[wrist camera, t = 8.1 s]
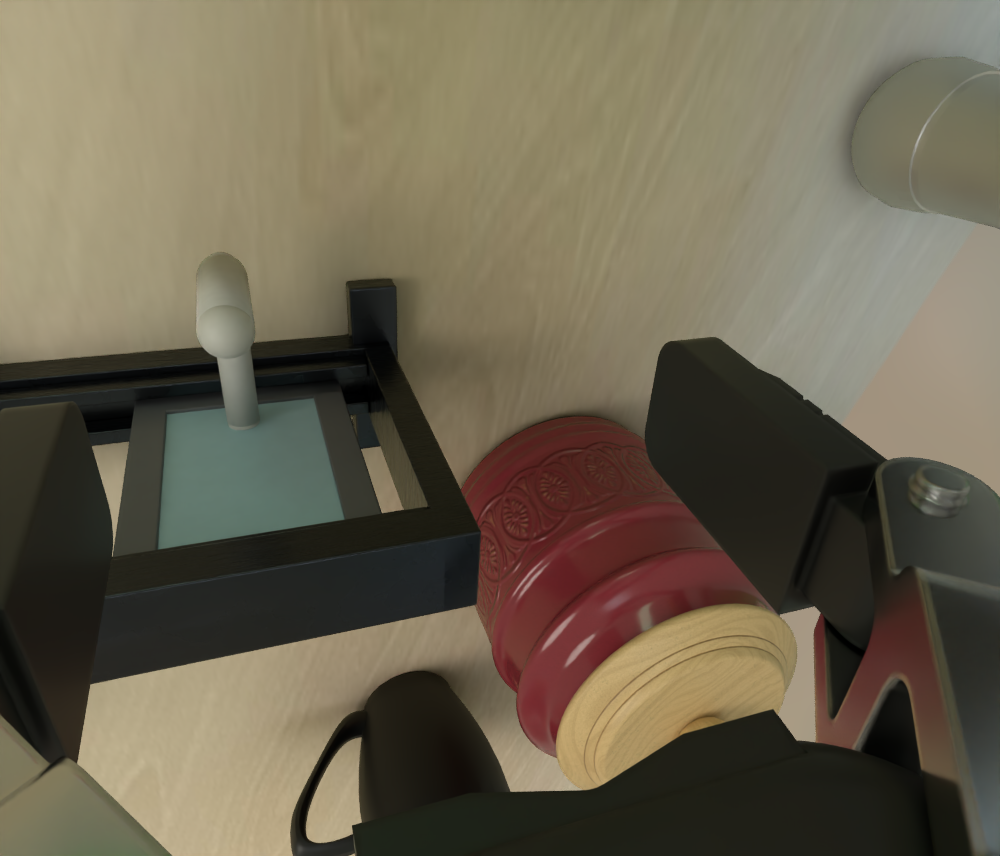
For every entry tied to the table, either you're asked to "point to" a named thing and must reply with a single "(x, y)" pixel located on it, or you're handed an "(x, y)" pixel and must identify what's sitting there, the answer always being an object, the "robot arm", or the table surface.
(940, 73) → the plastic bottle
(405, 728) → the mug
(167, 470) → the window pane
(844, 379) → the table surface
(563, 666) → the kitchen canister
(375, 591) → the window frame
